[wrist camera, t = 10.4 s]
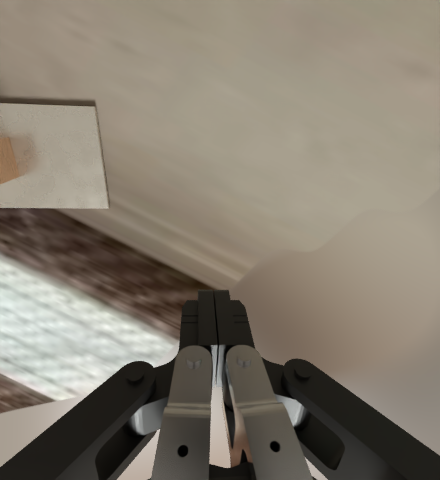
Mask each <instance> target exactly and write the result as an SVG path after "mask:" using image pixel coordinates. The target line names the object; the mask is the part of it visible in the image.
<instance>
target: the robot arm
mask: <svg viewBox="0 0 440 480" xmlns="http://www.w3.org/2000/svg"><path fill="white" fill-rule="evenodd" d="M215 377H216V387H222V392H223V400H222V408H223V415H224V420H225V427H226V433H227V439H228V445H229V452H230V462H231V468H223V467H219V466H215V465H211V464H209V452H210V420H211V406H210V405H211V395H212V387H215ZM158 429H160V434H159V439H158V444H157V450H156V455H155V461H154V466H153V471H152V477H151V478H150V479H148V480H316V479H315V478H314V477H312V476H311V473H310V470H309V468H308V465H307V463H306V460H305V457H306V458H307V459H308V460H309V461H310V462H311V463H312V464H313V465H314V466H315V467H316V468H317V469H318V470H319V471H320V472H321V473H322V474H323V475H324V476H325V477H326V478H327V479H328V480H440V456H439V455H438V454H436V453H435V452H434V451H432V450H431V449H429V448H428V447H427V446H425V445H424V444H423V443H421V442H420V441H418V440H417V439H416V438H414V437H413V436H411V435H410V434H409V433H407V432H406V431H405V430H403V429H402V428H400V427H399V426H398V425H396V424H395V423H393V422H392V421H391V420H389V419H388V418H386V417H385V416H384V415H382V414H381V413H380V412H378V411H377V410H375V409H374V408H373V407H371V406H370V405H368V404H367V403H366V402H364V401H363V400H361V399H360V398H359V397H357V396H356V395H354V394H353V393H352V392H350V391H349V390H348V389H346V388H345V387H343V386H342V385H341V384H339V383H338V382H336V381H335V380H334V379H332V378H331V377H329V376H328V375H327V374H325V373H324V372H323V371H321V370H320V369H318V368H317V367H316V366H314V365H313V364H311V363H310V362H308V361H305V360H302V359H292V360H289V361H287V362H286V363H285V365H284V366H283V365H279V364H276V363H272V362H269V361H267V360H265V359H264V358H262V357H261V355H260V354H259V352H258V351H257V350H256V349H255V347H254V342H253V338H252V334H251V330H250V326H249V321H248V317H247V313H246V309H245V307H244V305H243V304H242V303H241V302H240V301H239V300H230V295H229V290H214V292H213V290H198V300H187V301H186V303H185V304H184V306H183V307H182V317H181V330H180V345H179V351H178V354H177V356H176V357H175V358H174V359H173V360H172V361H171V362H169V363H167V364H164V365H162V366H159V367H155V368H153V366H152V365H151V364H149V363H147V362H144V361H135V362H131V363H129V364H127V365H125V366H124V367H122V368H121V369H120V370H119V371H117V372H116V373H115V374H114V375H112V376H111V377H110V378H109V379H108V380H106V381H105V382H104V383H103V384H101V385H100V386H99V387H98V388H97V389H95V390H94V391H93V392H92V393H90V394H89V395H88V396H87V397H86V398H84V399H83V400H82V401H81V402H79V403H78V404H77V405H76V406H75V407H73V408H72V409H71V410H70V411H69V412H67V413H66V414H65V415H64V416H62V417H61V418H60V419H59V420H57V422H55V423H54V424H53V425H51V426H50V427H49V428H48V429H46V430H45V431H44V432H43V433H42V434H40V435H39V436H38V437H37V438H36V439H34V440H33V441H32V442H31V443H30V444H28V445H27V446H26V447H25V448H23V449H22V450H21V451H20V452H18V453H17V454H16V455H15V456H14V457H12V458H11V459H10V460H9V461H7V462H6V463H5V464H4V465H3V466H1V467H0V480H117V478H118V477H119V476H120V475H121V474H122V473H123V471H124V470H125V469H126V468H127V467H128V466H129V464H130V463H131V462H132V461H133V460H134V459H135V457H136V456H137V455H138V454H139V453H140V452H141V450H142V449H143V448H144V447H145V446H146V445H147V443H148V442H149V441H150V440H151V438H153V436H154V435H155V433H156V431H157V430H158ZM304 456H305V457H304Z"/></svg>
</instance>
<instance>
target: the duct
mask: <svg viewBox="0 0 440 480" xmlns="http://www.w3.org/2000/svg"><path fill="white" fill-rule="evenodd" d="M18 177H20V174H19V171H18V167H17V164H16V160H15V156H14V153H13V149H12V146H11V142H10V139H9V137H0V184H3V183H5V182H8V181H10V180H13V179H15V178H18Z"/></svg>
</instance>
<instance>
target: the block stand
mask: <svg viewBox="0 0 440 480" xmlns="http://www.w3.org/2000/svg"><path fill="white" fill-rule="evenodd" d="M0 137H9V139H10V142H11V146H12V149H13V153H14V156H15V160H16V164H17V167H18V171H19V174H20V177H18V178H15V179H13V180H10V181H8V182H5V183H3V184H0V208H110V204H109V197H108V189H107V182H106V175H105V168H104V161H103V153H102V146H101V139H100V132H99V125H98V117H97V110H96V107H90V106H63V105H35V104H8V103H0Z"/></svg>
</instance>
